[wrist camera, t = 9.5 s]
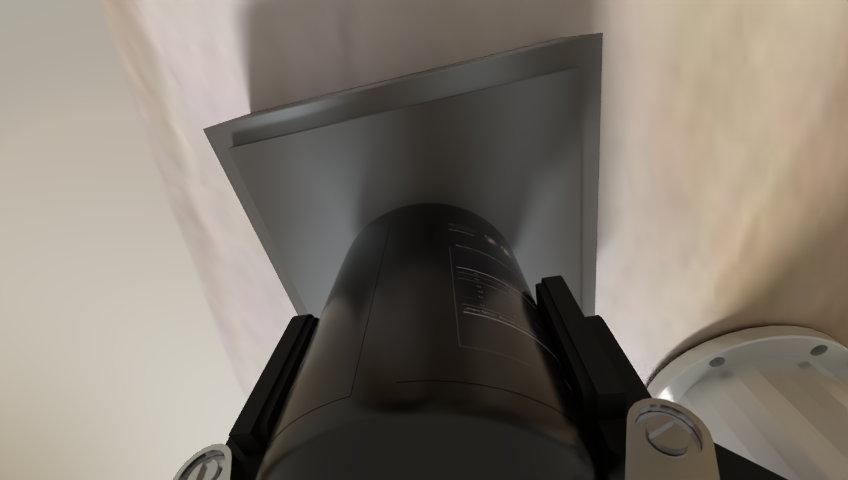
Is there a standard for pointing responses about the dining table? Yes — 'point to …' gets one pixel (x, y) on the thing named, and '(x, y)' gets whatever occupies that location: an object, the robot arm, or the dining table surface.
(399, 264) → the supplement bottle
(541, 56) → the grey square block
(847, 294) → the dining table surface
